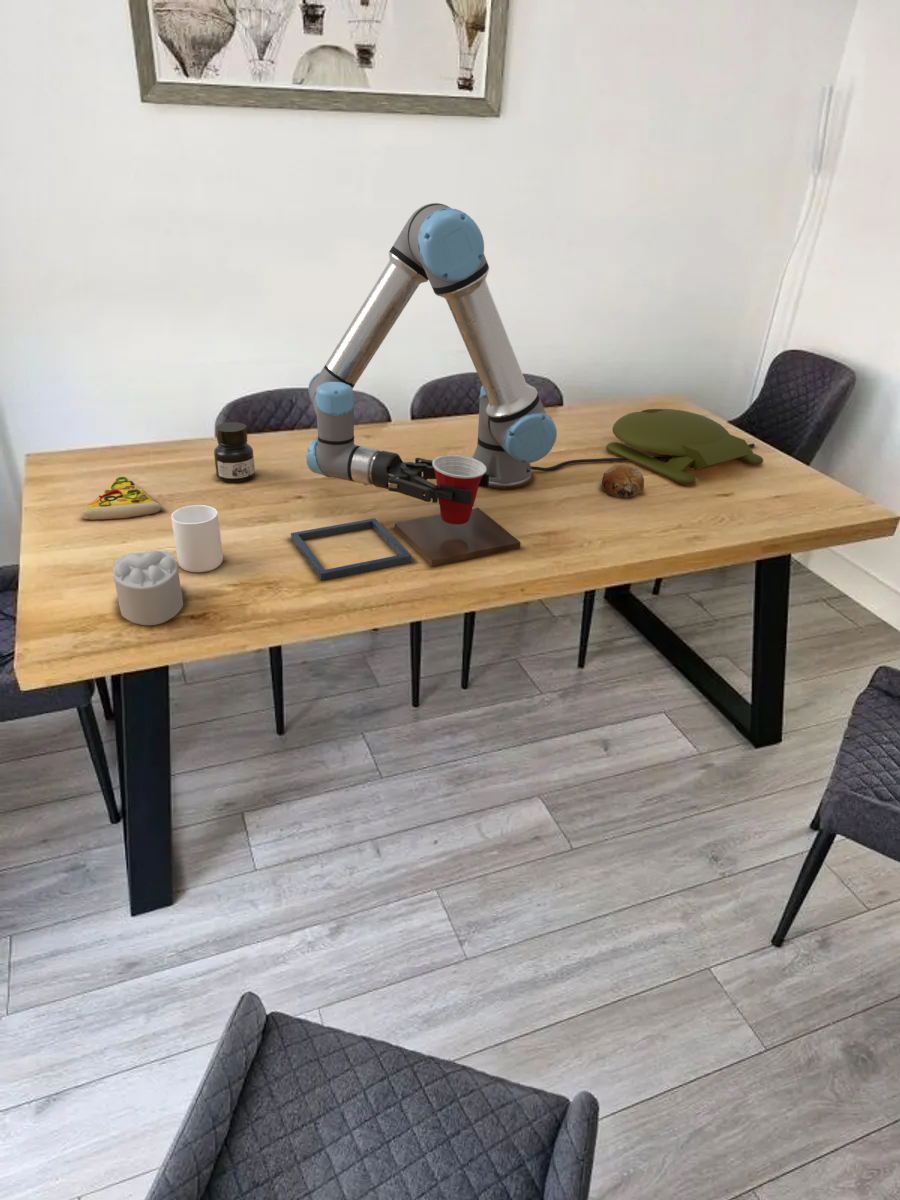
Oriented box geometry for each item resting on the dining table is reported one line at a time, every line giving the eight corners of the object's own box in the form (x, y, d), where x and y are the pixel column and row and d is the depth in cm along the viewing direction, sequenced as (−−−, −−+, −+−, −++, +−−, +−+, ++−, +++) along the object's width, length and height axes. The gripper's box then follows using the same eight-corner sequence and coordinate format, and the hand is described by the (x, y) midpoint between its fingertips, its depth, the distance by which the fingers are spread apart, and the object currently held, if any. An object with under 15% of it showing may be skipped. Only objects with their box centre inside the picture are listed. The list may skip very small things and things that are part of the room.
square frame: (375, 524, 174) (375, 518, 173) (411, 562, 160) (411, 555, 159) (291, 539, 166) (290, 532, 166) (321, 580, 153) (321, 573, 152)
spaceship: (766, 465, 212) (775, 429, 207) (685, 489, 197) (692, 450, 192) (665, 426, 236) (671, 392, 231) (586, 444, 221) (590, 408, 216)
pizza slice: (83, 523, 169) (80, 509, 168) (86, 484, 186) (83, 472, 184) (161, 515, 174) (159, 502, 172) (158, 478, 191) (156, 466, 189)
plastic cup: (478, 533, 162) (482, 476, 156) (424, 526, 163) (426, 470, 157) (486, 511, 171) (491, 457, 165) (436, 505, 173) (438, 450, 166)
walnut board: (477, 513, 180) (478, 507, 180) (520, 548, 167) (520, 541, 166) (394, 529, 172) (394, 522, 171) (431, 567, 159) (431, 560, 158)
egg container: (179, 583, 150) (172, 541, 145) (186, 619, 139) (180, 575, 135) (118, 592, 146) (110, 549, 142) (122, 630, 136) (112, 584, 132)
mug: (168, 550, 160) (160, 502, 155) (210, 542, 164) (204, 494, 159) (185, 577, 152) (177, 527, 146) (229, 567, 155) (223, 518, 150)
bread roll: (642, 503, 197) (650, 470, 196) (636, 500, 188) (644, 465, 187) (602, 495, 201) (610, 462, 200) (594, 491, 191) (602, 457, 190)
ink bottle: (218, 485, 188) (212, 435, 182) (211, 471, 195) (205, 423, 189) (260, 480, 192) (256, 430, 186) (252, 467, 199) (248, 418, 193)
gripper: (400, 468, 180) (497, 487, 172) (352, 504, 162) (458, 527, 155) (401, 435, 176) (499, 454, 169) (352, 468, 158) (459, 490, 151)
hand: (479, 489), depth 162 cm, fingers closed on plastic cup, 9 cm apart
